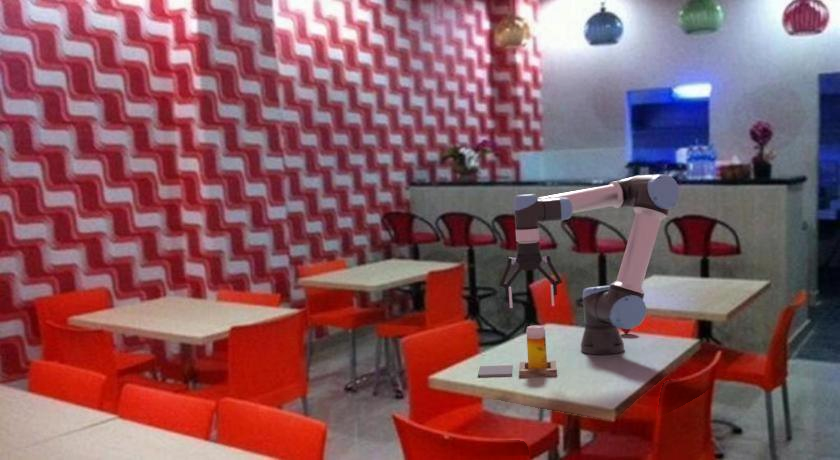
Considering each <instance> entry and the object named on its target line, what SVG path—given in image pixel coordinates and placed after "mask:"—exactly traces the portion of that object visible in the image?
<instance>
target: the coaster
mask: <svg viewBox="0 0 840 460" xmlns="http://www.w3.org/2000/svg"><path fill="white" fill-rule="evenodd" d="M478 369H479V370H478V372H477V377H478V378H480V377H479V376H482V377H481V378H491V377H492V376H494V377H492V378H495V376H497V377H498V376H500V377H512V376H513V365H512V364H509V365H508V364H507V365H506V364H505V365H481V366H479V368H478ZM486 376H487V377H486Z"/></svg>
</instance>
